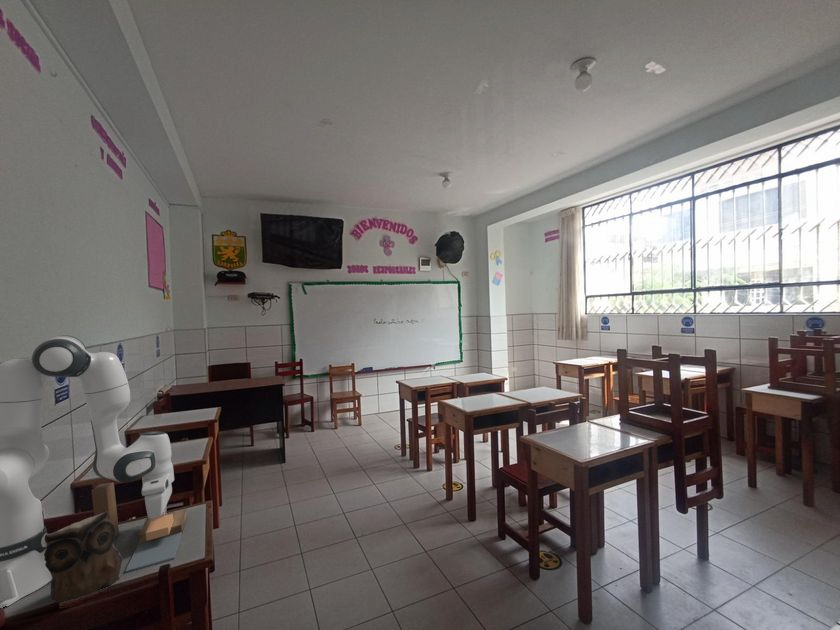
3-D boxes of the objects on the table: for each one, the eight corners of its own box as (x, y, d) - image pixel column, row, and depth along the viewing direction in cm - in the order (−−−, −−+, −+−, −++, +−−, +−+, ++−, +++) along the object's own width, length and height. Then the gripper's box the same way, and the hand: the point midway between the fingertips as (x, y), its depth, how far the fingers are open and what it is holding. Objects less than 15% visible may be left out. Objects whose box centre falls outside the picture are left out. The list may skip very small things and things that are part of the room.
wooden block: (81, 546, 128) (75, 492, 128) (90, 538, 133) (84, 486, 132) (112, 541, 130) (106, 487, 129) (119, 533, 134) (114, 481, 134)
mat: (125, 572, 113) (125, 571, 113) (138, 544, 126) (138, 543, 126) (174, 558, 117) (173, 557, 117) (182, 533, 131) (181, 531, 131)
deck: (138, 544, 126) (138, 535, 126) (147, 526, 138) (147, 518, 137) (182, 533, 131) (181, 524, 131) (187, 516, 142) (186, 508, 142)
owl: (127, 575, 112) (119, 505, 111) (90, 610, 99) (81, 532, 98) (81, 579, 111) (74, 510, 111) (39, 614, 99) (30, 536, 98)
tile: (146, 540, 123) (145, 533, 123) (152, 526, 132) (151, 518, 131) (168, 534, 126) (168, 527, 126) (173, 520, 134) (172, 513, 134)
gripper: (154, 470, 142) (158, 507, 142) (140, 493, 123) (144, 536, 123) (174, 465, 144) (178, 503, 145) (163, 488, 126) (168, 530, 126)
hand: (162, 518), depth 134 cm, fingers closed
